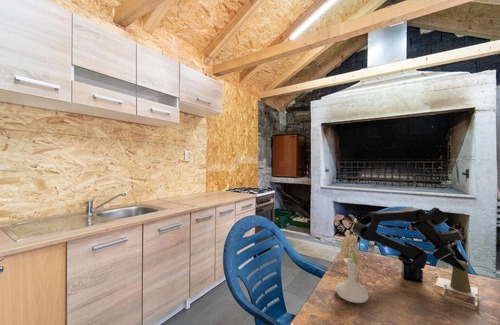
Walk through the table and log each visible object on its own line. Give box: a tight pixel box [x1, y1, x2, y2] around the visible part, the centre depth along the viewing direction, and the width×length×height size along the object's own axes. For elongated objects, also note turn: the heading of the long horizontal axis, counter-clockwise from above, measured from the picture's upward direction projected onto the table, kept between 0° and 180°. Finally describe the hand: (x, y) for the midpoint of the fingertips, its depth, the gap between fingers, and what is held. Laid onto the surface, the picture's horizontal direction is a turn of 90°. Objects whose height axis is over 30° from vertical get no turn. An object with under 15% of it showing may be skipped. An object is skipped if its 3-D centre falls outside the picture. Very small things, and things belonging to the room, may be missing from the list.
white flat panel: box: [434, 276, 479, 299], centre depth 87 cm, size 9×12×1 cm
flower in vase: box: [335, 233, 369, 304], centre depth 81 cm, size 13×11×25 cm
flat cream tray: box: [440, 285, 479, 311], centre depth 79 cm, size 9×9×2 cm
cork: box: [450, 259, 471, 293], centre depth 85 cm, size 6×6×11 cm
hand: (465, 266), depth 84 cm, fingers open, 9 cm apart
